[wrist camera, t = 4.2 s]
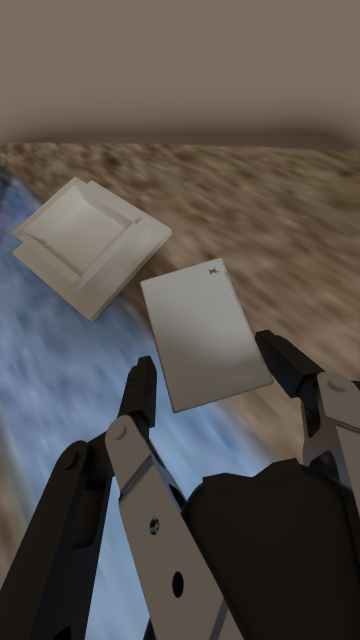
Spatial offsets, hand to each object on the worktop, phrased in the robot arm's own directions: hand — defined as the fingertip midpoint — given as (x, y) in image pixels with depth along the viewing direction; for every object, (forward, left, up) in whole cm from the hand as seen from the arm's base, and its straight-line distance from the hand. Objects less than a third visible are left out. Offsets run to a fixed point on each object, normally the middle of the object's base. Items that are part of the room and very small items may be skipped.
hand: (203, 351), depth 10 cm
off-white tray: (-12, +20, -7) cm, 24 cm away
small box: (0, +2, -8) cm, 8 cm away
